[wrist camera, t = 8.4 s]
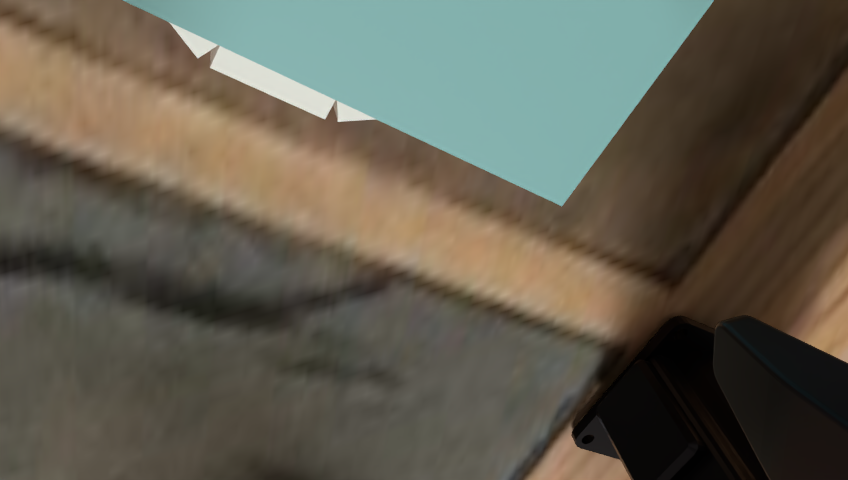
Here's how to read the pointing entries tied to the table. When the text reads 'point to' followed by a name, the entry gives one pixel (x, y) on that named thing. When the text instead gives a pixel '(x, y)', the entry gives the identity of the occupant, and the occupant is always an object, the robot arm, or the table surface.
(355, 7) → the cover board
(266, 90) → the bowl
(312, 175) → the table surface
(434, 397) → the table surface
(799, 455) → the robot arm
